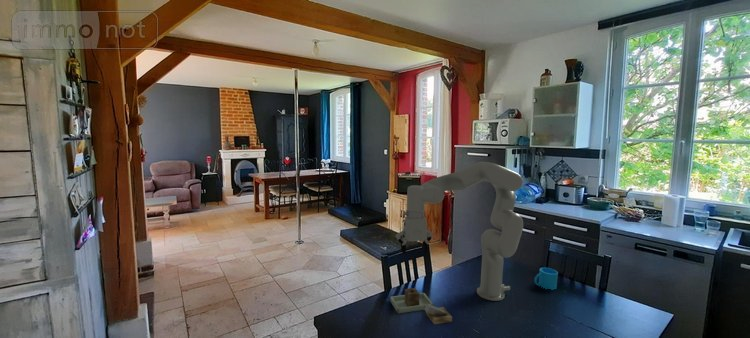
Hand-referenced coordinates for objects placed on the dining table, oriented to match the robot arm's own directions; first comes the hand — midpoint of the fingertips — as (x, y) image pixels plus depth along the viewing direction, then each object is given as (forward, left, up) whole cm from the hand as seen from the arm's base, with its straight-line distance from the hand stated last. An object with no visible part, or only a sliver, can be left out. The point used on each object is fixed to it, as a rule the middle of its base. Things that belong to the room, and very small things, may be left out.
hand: (414, 252), depth 139 cm
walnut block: (0, 0, -24) cm, 24 cm away
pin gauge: (-9, +12, -23) cm, 28 cm away
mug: (-72, -1, -25) cm, 76 cm away
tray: (+1, 0, -24) cm, 24 cm away
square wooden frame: (-7, +12, -24) cm, 28 cm away
